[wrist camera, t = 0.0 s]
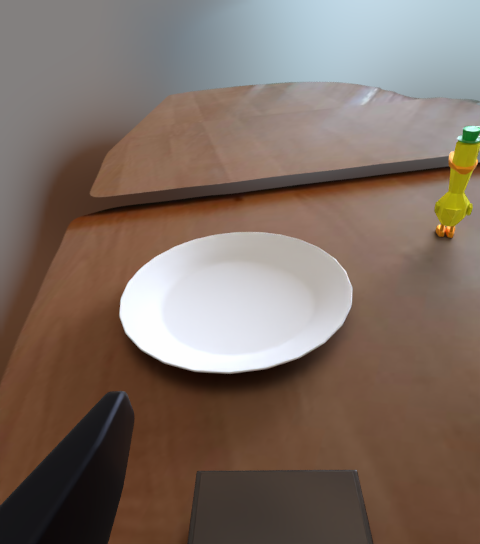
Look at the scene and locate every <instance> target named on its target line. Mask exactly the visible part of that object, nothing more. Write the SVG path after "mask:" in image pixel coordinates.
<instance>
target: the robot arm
mask: <svg viewBox="0 0 480 544" xmlns="http://www.w3.org/2000/svg"><path fill="white" fill-rule="evenodd" d="M133 426H134V412H133V409H132V406H131V403H130V400H129V398H128V395H127V393H126V392H124V391H112V392H108V393H107V394H105V395H104V397H103V398H102V399H101V400H100V401H99V402H98V403H97V404H96V405H95V406H94V407H93V408H92V409H91V410H90V411H89V412H88V413H87V415H86V416H85V417H84V418H83V419H82V420H81V421H80V422H79V423H78V424H77V425H76V426H75V427H74V428H73V429H72V430H71V431H70V432H69V434H68V435H67V436H66V437H65V438H64V439H63V440H62V441H61V442H60V443H59V444H58V445H57V446H56V447H55V448H54V449H53V450H52V452H51V453H50V454H49V455H48V456H47V457H46V458H45V459H44V460H43V461H42V462H41V463H40V464H39V465H38V466H37V467H36V468H35V470H34V471H33V472H32V473H31V474H30V475H29V476H28V477H27V478H26V479H25V480H24V481H23V482H22V483H21V484H20V485H19V486H18V487H17V489H16V490H15V491H14V492H13V493H12V494H11V495H10V496H9V497H8V498H7V499H6V500H5V501H4V502H3V503H2V504H1V505H0V544H108V541H109V537H110V533H111V530H112V526H113V523H114V519H115V515H116V512H117V508H118V505H119V501H120V497H121V493H122V489H123V485H124V479H125V474H126V468H127V462H128V456H129V450H130V444H131V438H132V432H133Z"/></svg>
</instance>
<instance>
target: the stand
mask: <svg viewBox="0 0 480 544" xmlns="http://www.w3.org/2000/svg"><path fill="white" fill-rule="evenodd" d="M187 544H373V540H372V535H371V531H370V527H369V522H368V518H367V513H366V509H365V504H364V500H363V495H362V491H361V486H360V482H359V477H358V473H357V471H356V470H276V471H197V474H196V482H195V489H194V497H193V505H192V512H191V520H190V528H189V535H188V543H187Z"/></svg>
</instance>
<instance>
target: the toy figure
mask: <svg viewBox="0 0 480 544" xmlns="http://www.w3.org/2000/svg"><path fill="white" fill-rule="evenodd" d="M479 134H480V127H477V126H466V127H464V128H463V135H461V136H459V137H458V140H459V141H458V142H457V143H456V147H455V151H454V152H451V153H450V154H449V166H450V167H451V172H450V182H449V191H448V192H447V193H446V194H445V195H444V196H443V197H442V198H440V199H439V200H438V202H436V204H435V213H436V215H437V217H438V219H439V221H440V223H441V225H438V226H437V228H436V233H437V234H438V236H439V237H444V233H446V235H447V237H449V238H453V235H454V231H455V227H454V226H455V225H456V224H458V223H459V222H460V221H461V220H462V219H463V218H464V217H465V216H466V214H467V215H470V214H471V212H472V208H473V207H472V204H469V203H470V202H469V200H468V198H467V196H466V195H465V193H464V191H465V189H466V186H467V184H468V182H469V179H470V177H471V174H472V172H473V170H474V169H475V168H476V166H477V164H478V160H477V156H478V152H479V149H480V137H479ZM445 226H448V227H446V231H445Z"/></svg>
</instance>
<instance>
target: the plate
mask: <svg viewBox="0 0 480 544" xmlns="http://www.w3.org/2000/svg"><path fill="white" fill-rule="evenodd" d="M351 306H352V286H351V283H350V281H349V278H348V275H347V273H346V271H345V270H344V269H343V268H342V266H341V265H340V264H339V263H338V262H337V261H336V259H335V258H333V257H332V256H331V255H329V254H328V253H326V252H325V251H323V250H322V249H320V248H319V247H316V246H314V245H312V244H309V243H307V242H305V241H302V240H299V239H296V238H292V237H288V236H284V235H279V234H271V233H262V232H235V233H226V234H218V235H212V236H208V237H204V238H199V239H195V240H192V241H189V242H186V243H184V244H181V245H178V246H175V247H173V248H171V249H169V250H168V251H166V252H164V253H162V254H160V255H158V256H156V257H155V258H153V259H152V260H151V261H149V262H148V263H147V264H145V265H144V266H143V267H142V268H140V269H139V270H138V272H137V273H136V274H135V275H134V276H133V277H132V279H131V280H130V281H129V282H128V284H127V286H126V288H125V290H124V292H123V295H122V297H121V299H120V313H119V317H120V320H121V323H122V325H123V328H124V331H125V334H126V335H127V336H128V337H129V338H130V339H131V340H132V341H133V342H134V343H135V345H136V346H137V347H138V348H139V349H140V350H141V351H143V352H145V353H146V354H148V355H150V356H152V357H153V358H155V359H157V360H159V361H161V362H162V363H164V364H167V365H171V366H175V367H178V368H182V369H186V370H189V371H193V372H204V373H222V374H234V373H242V372H249V371H257V370H265V369H269V368H272V367H275V366H278V365H281V364H284V363H287V362H290V361H293V360H296V359H299V358H301V357H302V356H304V355H306V354H307V353H309V352H311V351H313V350H314V349H316V348H318V347H319V346H321V345H323V344H324V343H326V342H327V340H328V339H329V338H330V337H331V336H332V335H333V334H334V333H335V332H336V331H337V330H338V329H339V328H340V327H341V326H342V325H343V323H344V321H345V319H346V317H347V315H348V313H349V311H350V309H351Z"/></svg>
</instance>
